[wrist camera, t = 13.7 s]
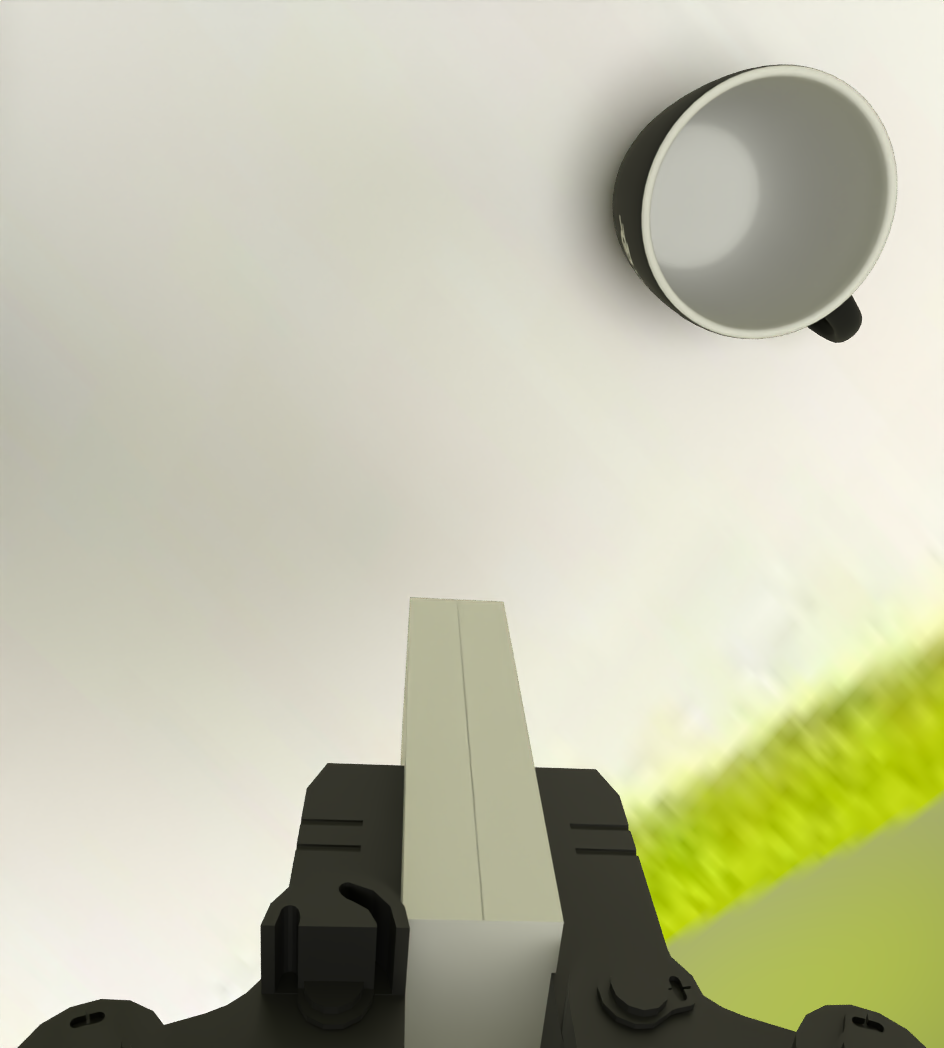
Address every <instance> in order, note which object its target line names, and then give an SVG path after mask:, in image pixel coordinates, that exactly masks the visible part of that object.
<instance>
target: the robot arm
mask: <svg viewBox="0 0 944 1048" xmlns="http://www.w3.org/2000/svg"><path fill="white" fill-rule="evenodd" d="M18 1048H926V1047H925V1046H924V1045H923V1044H922V1043H920V1041H918V1039H917V1038H915V1037H914V1036H913V1035H912V1034H911V1033H910V1032H909V1031H908V1030H907V1029H905V1028H903V1027H902V1026H900V1025H898V1024H897V1023H895V1022H893V1021H892V1020H890V1019H888V1018H886V1017H885V1016H883V1015H881V1014H880V1013H877V1012H873V1011H870V1010H867V1009H863V1008H860V1007H856V1006H853V1005H825V1006H823V1007H821V1008H819V1009H817V1010H815V1011H813V1012H811V1013H809V1014H807V1015H806V1016H805V1018H804V1019H803V1021H802V1023H801V1025H800V1027H799V1029H798V1030H797V1032H794V1031H791V1030H788V1029H784V1028H781V1027H778V1026H775V1025H771V1024H768V1023H765V1022H762V1021H758V1020H755V1019H751V1018H748V1017H745V1016H742V1015H740V1014H737V1013H735V1012H732V1011H730V1010H727V1009H725V1008H723V1007H721V1006H719V1005H718V1004H716V1003H715V1002H713V1001H711V1000H710V999H708V998H706V997H705V996H703V994H702V993H701V991H700V989H699V987H698V985H697V984H696V982H695V980H694V978H693V976H692V975H691V974H689V973H688V972H687V971H686V970H685V969H684V968H683V967H682V966H681V965H680V964H678V963H677V962H676V961H675V960H674V959H673V958H671V956H670V954H669V952H668V949H667V946H666V943H665V940H664V937H663V934H662V930H661V927H660V924H659V921H658V918H657V914H656V911H655V908H654V905H653V902H652V898H651V895H650V892H649V889H648V886H647V882H646V879H645V876H644V873H643V870H642V867H641V863H640V860H639V857H638V856H636V847H635V844H634V841H633V838H632V835H631V831H629V830H628V822H627V819H626V815H625V812H624V809H623V806H622V803H621V799H620V796H619V795H618V793H617V792H616V791H615V790H614V789H613V788H612V787H611V786H610V785H609V783H608V782H607V781H606V780H605V779H604V778H603V777H602V776H601V775H600V773H599V772H598V771H597V770H596V769H569V768H539V767H534V762H533V756H532V751H531V746H530V740H529V735H528V730H527V724H526V719H525V714H524V708H523V703H522V698H521V692H520V687H519V682H518V676H517V671H516V666H515V660H514V655H513V650H512V645H511V639H510V634H509V629H508V623H507V618H506V613H505V607H504V602H497V601H476V600H455V599H434V598H413V597H410V608H409V625H408V641H407V658H406V675H405V691H404V708H403V724H402V741H401V766H398V765H367V764H337V763H327V765H326V766H325V767H324V768H323V770H322V771H321V772H320V773H319V774H318V776H317V777H316V778H315V779H314V780H313V782H312V783H311V784H310V785H309V787H308V788H307V790H306V796H305V802H304V807H303V813H302V818H301V825H300V829H299V835H298V840H297V849H296V851H295V857H294V862H293V868H292V873H291V879H290V884H289V888H287V889H286V890H285V891H284V892H283V893H282V894H281V895H280V896H279V897H277V898H276V899H275V900H274V901H273V902H272V903H271V904H270V906H269V908H268V911H267V913H266V915H265V917H264V919H263V921H262V924H261V980H260V981H259V982H258V983H257V984H255V985H254V986H253V987H252V988H251V989H250V990H249V991H248V992H247V993H246V994H244V995H242V996H241V997H239V998H238V999H236V1000H234V1001H233V1002H231V1003H230V1004H228V1005H226V1006H223V1007H221V1008H218V1009H216V1010H213V1011H210V1012H208V1013H205V1014H202V1015H198V1016H195V1017H191V1018H187V1019H184V1020H180V1021H177V1022H173V1023H170V1024H166V1025H163V1023H162V1022H161V1021H160V1019H159V1018H158V1017H157V1015H156V1014H155V1013H154V1011H152V1010H150V1009H147V1008H145V1007H143V1006H141V1005H139V1004H137V1003H135V1002H132V1001H130V1000H110V999H100V1000H96V1001H92V1002H88V1003H85V1004H81V1005H77V1006H73V1007H70V1008H68V1009H66V1010H65V1011H63V1012H61V1013H59V1014H58V1015H56V1016H54V1017H53V1018H51V1019H49V1020H47V1021H46V1022H44V1023H42V1024H40V1025H39V1026H38V1027H37V1028H36V1029H35V1030H34V1031H33V1033H32V1034H31V1035H30V1036H29V1037H28V1038H27V1039H26V1040H25V1041H24V1042H23V1043H22V1044H21V1045H20V1046H19V1047H18Z"/></svg>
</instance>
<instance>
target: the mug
mask: <svg viewBox="0 0 944 1048" xmlns="http://www.w3.org/2000/svg"><path fill="white" fill-rule="evenodd" d="M896 199H897V171H896V163H895V157H894V152H893V149H892V145H891V142H890V139H889V137H888V134H887V132H886V129H885V127H884V125H883V124H882V122H881V120H880V118H879V116H878V115H877V113H876V112H875V111H874V109H873V108H872V106H871V105H870V104H869V103H868V102H867V101H866V100H865V98H864V97H863V96H862V95H861V94H859V93H858V92H857V91H856V90H855V89H854V88H852V87H851V86H850V85H848V84H847V83H845V82H844V81H842V80H840V79H838V78H837V77H835V76H833V75H831V74H828V73H825V72H823V71H820V70H817V69H813V68H809V67H804V66H797V65H769V66H761V67H756V68H751V69H746V70H743V71H740V72H736V73H733V74H730V75H727V76H725V77H722V78H720V79H718V80H715V81H713V82H710V83H708V84H706V85H704V86H702V87H700V88H698V89H696V90H695V91H693V92H691V93H689V94H687V95H686V96H684V97H682V98H681V99H679V100H678V101H677V102H675V103H674V104H672V105H671V106H669V107H668V108H666V109H665V110H664V111H663V112H662V113H660V114H659V115H658V116H657V117H656V118H654V119H653V120H652V121H651V122H650V123H649V124H648V125H647V126H646V127H645V128H644V130H643V131H642V132H641V133H640V134H639V136H638V137H637V138H636V140H635V141H634V142H633V144H632V145H631V147H630V148H629V150H628V152H627V154H626V155H625V157H624V160H623V162H622V164H621V166H620V169H619V172H618V175H617V179H616V183H615V188H614V194H613V217H614V224H615V229H616V233H617V236H618V240H619V243H620V245H621V247H622V250H623V252H624V254H625V256H626V258H627V259H628V261H629V263H630V265H631V266H632V268H633V269H634V271H635V272H636V273H637V275H638V276H639V277H640V279H641V280H642V281H643V282H644V283H645V284H646V286H647V287H648V288H649V289H650V290H651V291H652V292H653V293H654V294H655V295H656V296H657V297H658V298H659V299H660V300H661V301H662V302H664V303H665V304H666V305H667V306H668V307H670V308H671V309H672V310H674V311H675V312H676V313H678V314H679V315H680V316H682V317H683V318H685V319H687V320H688V321H690V322H692V323H693V324H695V325H697V326H699V327H702V328H704V329H706V330H708V331H711V332H714V333H717V334H720V335H724V336H728V337H733V338H742V339H762V338H771V337H777V336H782V335H785V334H789V333H792V332H795V331H798V330H800V329H803V328H805V327H808V328H810V329H811V330H812V331H814V332H815V333H817V334H818V335H820V336H822V337H823V338H825V339H827V340H829V341H831V342H835V343H839V342H844V341H846V340H848V339H849V338H851V337H852V336H853V335H855V333H856V332H857V331H858V330H859V328H860V326H861V323H862V315H861V312H860V310H859V308H858V306H857V304H856V302H855V300H854V298H853V296H852V294H853V293H854V292H855V291H856V290H857V288H858V287H859V286H860V285H861V284H862V282H863V281H864V280H865V279H866V277H867V276H868V274H869V273H870V271H871V270H872V268H873V267H874V265H875V263H876V261H877V260H878V258H879V256H880V254H881V252H882V250H883V248H884V245H885V243H886V240H887V238H888V235H889V232H890V229H891V225H892V222H893V218H894V213H895V207H896Z"/></svg>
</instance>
